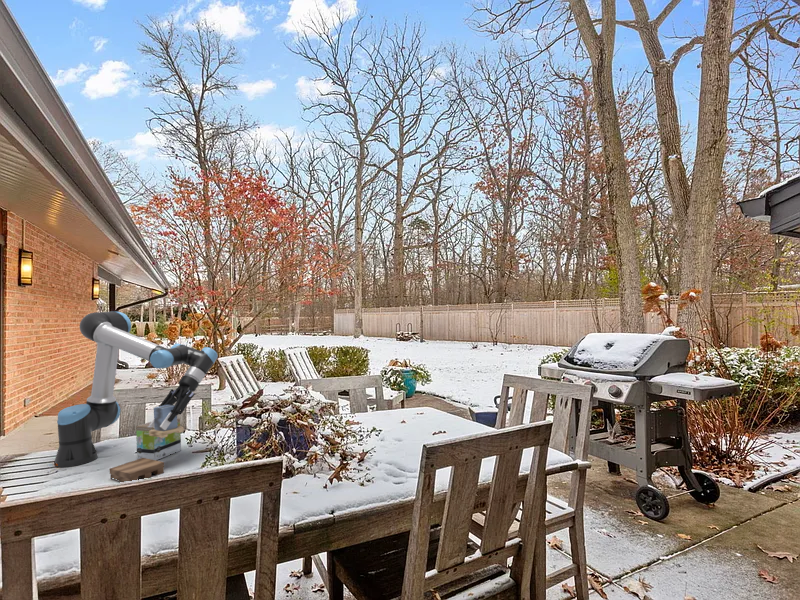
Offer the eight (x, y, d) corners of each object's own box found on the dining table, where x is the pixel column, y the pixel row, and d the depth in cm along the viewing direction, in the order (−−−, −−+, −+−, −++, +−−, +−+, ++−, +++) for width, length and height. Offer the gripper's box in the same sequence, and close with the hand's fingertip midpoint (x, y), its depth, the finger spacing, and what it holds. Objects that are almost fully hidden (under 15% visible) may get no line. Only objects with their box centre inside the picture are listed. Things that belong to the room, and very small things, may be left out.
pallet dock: (110, 479, 176) (109, 468, 176) (143, 467, 187) (143, 457, 187) (130, 484, 169) (130, 473, 169) (164, 472, 180) (163, 462, 180)
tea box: (155, 462, 194) (153, 426, 194) (136, 460, 197) (134, 426, 197) (182, 450, 208) (180, 417, 208) (164, 449, 211) (162, 416, 211)
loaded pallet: (149, 435, 187) (147, 408, 187) (169, 429, 195) (168, 403, 195) (162, 437, 183) (161, 410, 183) (183, 431, 190) (182, 404, 190)
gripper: (211, 385, 197) (178, 434, 183) (183, 383, 207) (150, 430, 193) (200, 375, 193) (165, 424, 179) (171, 373, 202) (136, 420, 188)
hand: (157, 427), depth 186 cm, fingers closed on loaded pallet, 6 cm apart
